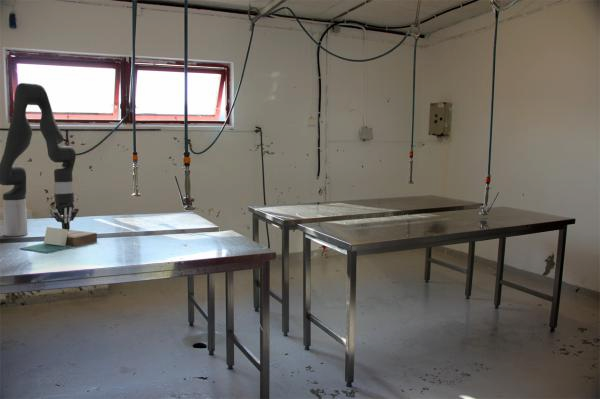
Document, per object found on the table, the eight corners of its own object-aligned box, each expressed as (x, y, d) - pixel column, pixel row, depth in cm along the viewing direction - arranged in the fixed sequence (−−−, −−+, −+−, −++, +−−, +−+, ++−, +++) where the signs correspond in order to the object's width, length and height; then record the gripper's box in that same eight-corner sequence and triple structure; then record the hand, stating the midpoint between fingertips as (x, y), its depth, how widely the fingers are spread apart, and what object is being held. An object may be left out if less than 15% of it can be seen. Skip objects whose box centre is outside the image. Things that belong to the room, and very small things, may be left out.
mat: (20, 249, 191) (20, 248, 191) (46, 243, 202) (46, 242, 202) (47, 253, 185) (47, 252, 185) (72, 247, 196) (72, 246, 196)
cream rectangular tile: (48, 243, 200) (43, 243, 198) (51, 227, 201) (46, 227, 199) (65, 245, 196) (60, 245, 194) (68, 229, 197) (63, 228, 195)
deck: (48, 243, 203) (47, 234, 203) (71, 238, 214) (71, 230, 213) (74, 246, 197) (74, 237, 196) (97, 241, 208) (96, 233, 207)
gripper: (70, 190, 208) (72, 228, 210) (44, 192, 196) (46, 232, 198) (82, 191, 205) (84, 229, 207) (57, 193, 193) (58, 234, 195)
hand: (65, 231), depth 203 cm, fingers closed
